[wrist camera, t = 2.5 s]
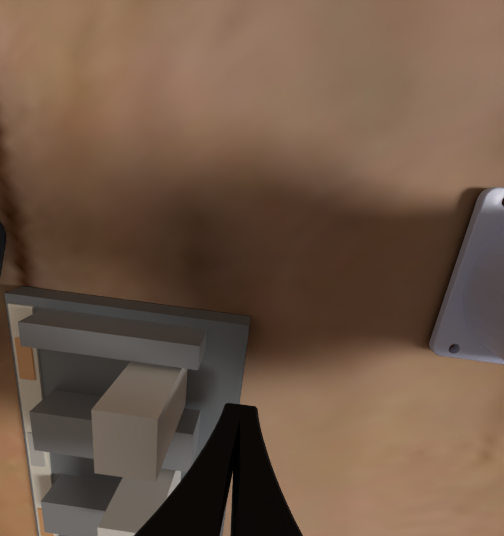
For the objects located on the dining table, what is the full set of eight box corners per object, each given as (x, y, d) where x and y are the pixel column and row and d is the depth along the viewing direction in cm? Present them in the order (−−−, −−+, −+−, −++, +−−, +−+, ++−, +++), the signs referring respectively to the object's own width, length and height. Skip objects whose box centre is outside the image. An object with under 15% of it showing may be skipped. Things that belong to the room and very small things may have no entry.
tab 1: (188, 355, 13) (157, 419, 9) (185, 405, 14) (155, 482, 10) (140, 348, 13) (91, 410, 9) (140, 398, 14) (94, 473, 10)
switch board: (250, 316, 14) (247, 342, 11) (219, 561, 19) (212, 615, 16) (22, 286, 14) (-29, 305, 11) (52, 537, 19) (20, 586, 16)
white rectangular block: (182, 449, 15) (154, 535, 11) (180, 489, 16) (152, 582, 12) (140, 443, 15) (97, 527, 11) (139, 483, 16) (99, 574, 12)
